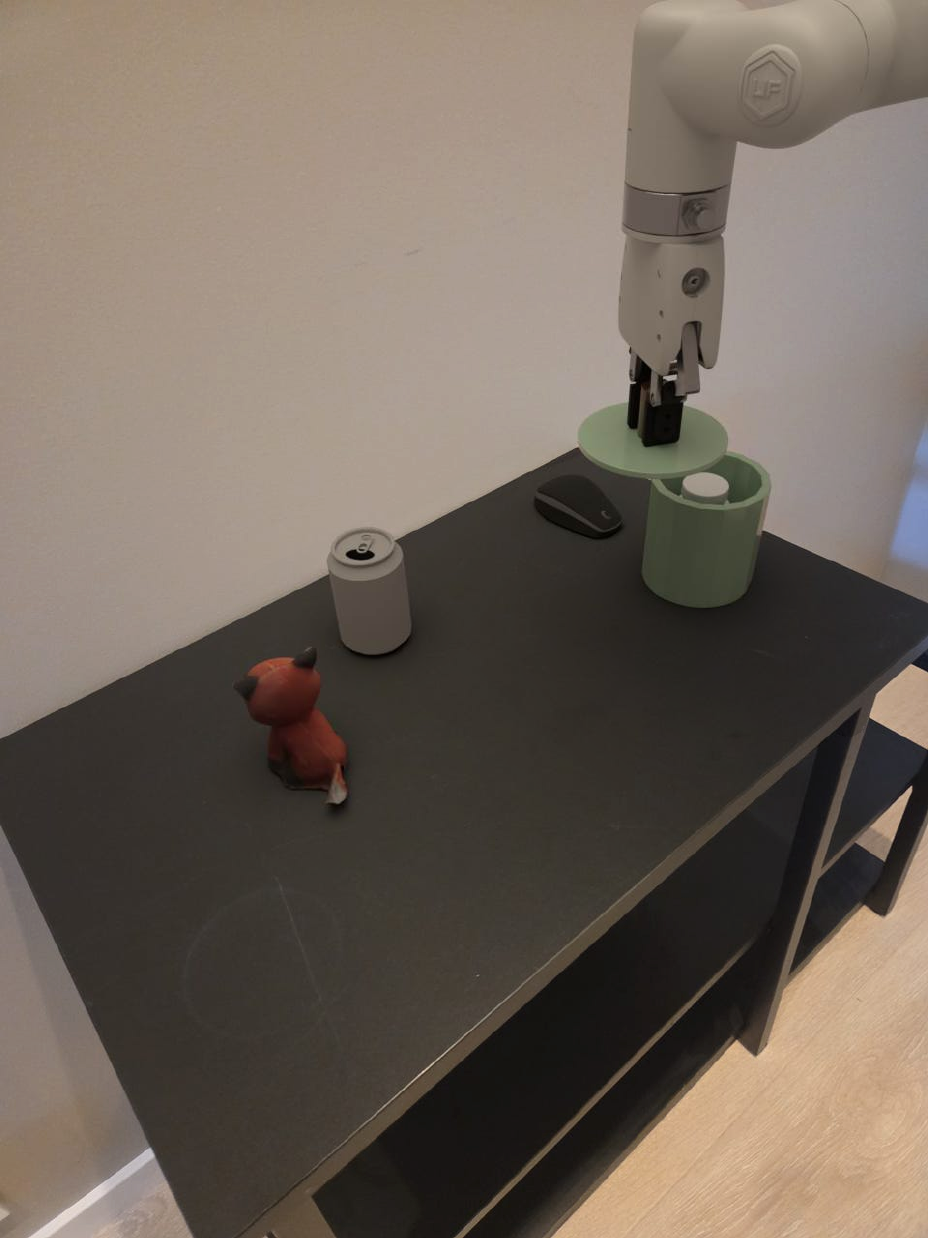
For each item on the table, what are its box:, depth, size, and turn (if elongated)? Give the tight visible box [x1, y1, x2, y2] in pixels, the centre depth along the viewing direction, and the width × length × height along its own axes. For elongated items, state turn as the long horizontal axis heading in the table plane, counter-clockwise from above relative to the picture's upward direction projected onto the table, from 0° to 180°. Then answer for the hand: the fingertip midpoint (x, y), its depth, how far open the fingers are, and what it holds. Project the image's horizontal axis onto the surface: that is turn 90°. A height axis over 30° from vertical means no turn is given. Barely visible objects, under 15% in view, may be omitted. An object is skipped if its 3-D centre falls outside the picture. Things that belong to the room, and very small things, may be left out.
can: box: [326, 526, 412, 656], centre depth 87 cm, size 8×8×12 cm
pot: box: [641, 450, 773, 609], centre depth 93 cm, size 12×12×12 cm
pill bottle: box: [679, 472, 730, 505], centre depth 93 cm, size 6×6×11 cm
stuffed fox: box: [231, 645, 349, 805], centre depth 74 cm, size 8×11×12 cm
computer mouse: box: [533, 473, 623, 539], centre depth 105 cm, size 7×12×4 cm, turn 41°
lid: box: [576, 380, 729, 480], centre depth 74 cm, size 13×13×6 cm
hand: (652, 432), depth 75 cm, fingers closed on lid, 2 cm apart
